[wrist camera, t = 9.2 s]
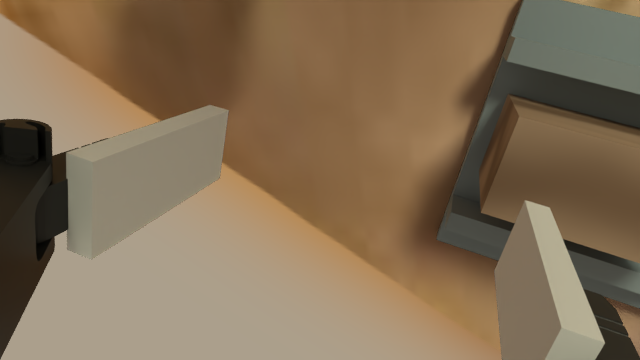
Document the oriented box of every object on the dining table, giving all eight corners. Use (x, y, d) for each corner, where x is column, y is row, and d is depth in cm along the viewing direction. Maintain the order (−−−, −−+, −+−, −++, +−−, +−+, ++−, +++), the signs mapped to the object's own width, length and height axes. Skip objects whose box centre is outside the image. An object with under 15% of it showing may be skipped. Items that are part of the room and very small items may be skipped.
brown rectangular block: (508, 93, 27) (519, 116, 21) (694, 142, 25) (769, 184, 18) (478, 170, 29) (480, 212, 22) (649, 221, 27) (703, 283, 20)
